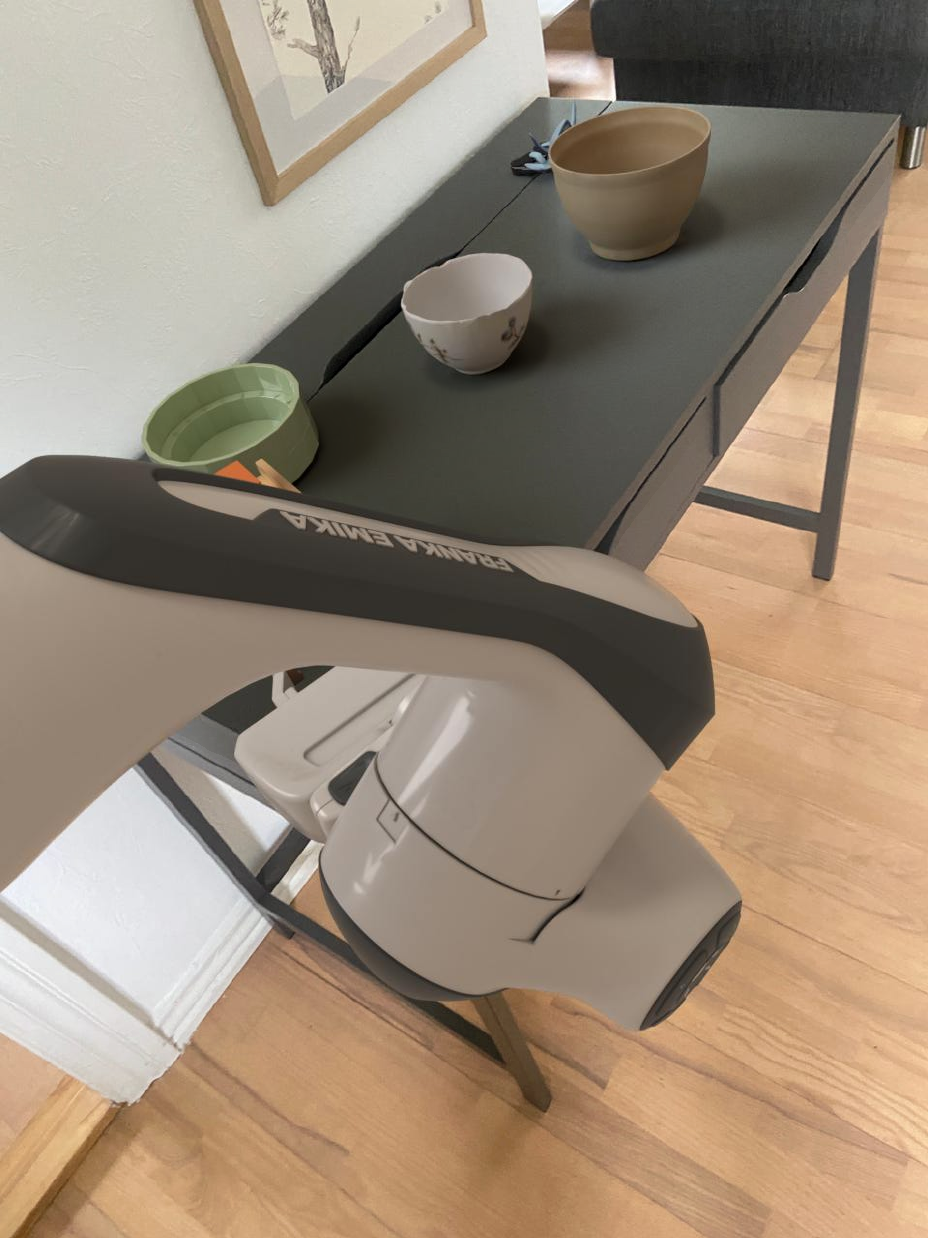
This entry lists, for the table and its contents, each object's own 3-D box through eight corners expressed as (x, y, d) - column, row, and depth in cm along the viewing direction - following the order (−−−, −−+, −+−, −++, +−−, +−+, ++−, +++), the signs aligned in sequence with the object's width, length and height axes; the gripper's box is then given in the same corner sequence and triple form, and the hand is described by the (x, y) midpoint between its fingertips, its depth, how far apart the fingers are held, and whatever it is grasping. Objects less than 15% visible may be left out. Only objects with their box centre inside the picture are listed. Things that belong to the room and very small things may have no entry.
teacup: (570, 338, 90) (559, 262, 84) (488, 409, 85) (471, 334, 79) (458, 307, 98) (441, 236, 93) (378, 370, 93) (355, 299, 88)
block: (279, 520, 64) (260, 481, 61) (235, 549, 62) (214, 510, 60) (256, 498, 66) (236, 459, 63) (213, 525, 65) (191, 487, 62)
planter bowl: (725, 261, 93) (725, 152, 85) (567, 291, 96) (553, 188, 88) (698, 192, 104) (696, 90, 96) (557, 221, 107) (543, 124, 99)
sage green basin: (140, 502, 87) (109, 452, 83) (230, 406, 95) (206, 356, 91) (263, 528, 80) (236, 476, 76) (348, 423, 88) (329, 370, 84)
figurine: (587, 194, 112) (567, 136, 106) (510, 194, 119) (487, 139, 113) (623, 143, 115) (605, 83, 109) (546, 146, 122) (525, 90, 116)
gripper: (611, 598, 49) (458, 490, 58) (294, 840, 43) (177, 680, 52) (621, 670, 53) (478, 560, 62) (336, 898, 48) (222, 742, 56)
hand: (339, 616), depth 57 cm, fingers open, 8 cm apart
